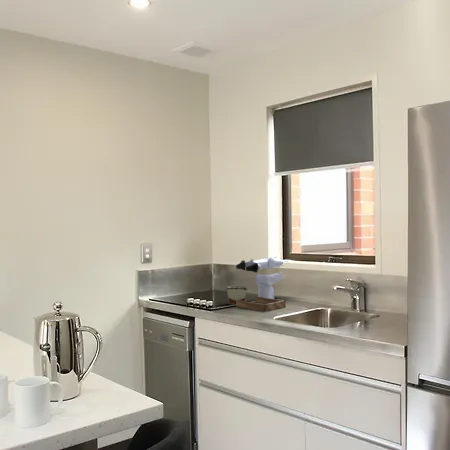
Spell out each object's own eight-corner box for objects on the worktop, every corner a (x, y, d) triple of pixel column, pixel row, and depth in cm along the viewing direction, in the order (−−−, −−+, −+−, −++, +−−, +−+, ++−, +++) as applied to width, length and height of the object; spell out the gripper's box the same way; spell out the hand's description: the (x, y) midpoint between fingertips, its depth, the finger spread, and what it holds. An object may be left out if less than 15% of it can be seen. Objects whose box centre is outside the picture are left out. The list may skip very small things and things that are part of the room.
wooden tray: (256, 302, 305) (256, 296, 305) (285, 306, 291) (285, 300, 291) (235, 306, 291) (235, 300, 291) (265, 311, 278) (265, 304, 278)
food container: (248, 302, 305) (248, 285, 305) (247, 304, 299) (247, 287, 299) (227, 302, 307) (227, 285, 306) (226, 304, 300) (226, 286, 300)
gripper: (248, 256, 311) (232, 259, 301) (267, 260, 301) (251, 262, 291) (248, 268, 312) (232, 271, 302) (266, 272, 301) (250, 275, 292)
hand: (241, 267), depth 297 cm, fingers open, 7 cm apart
